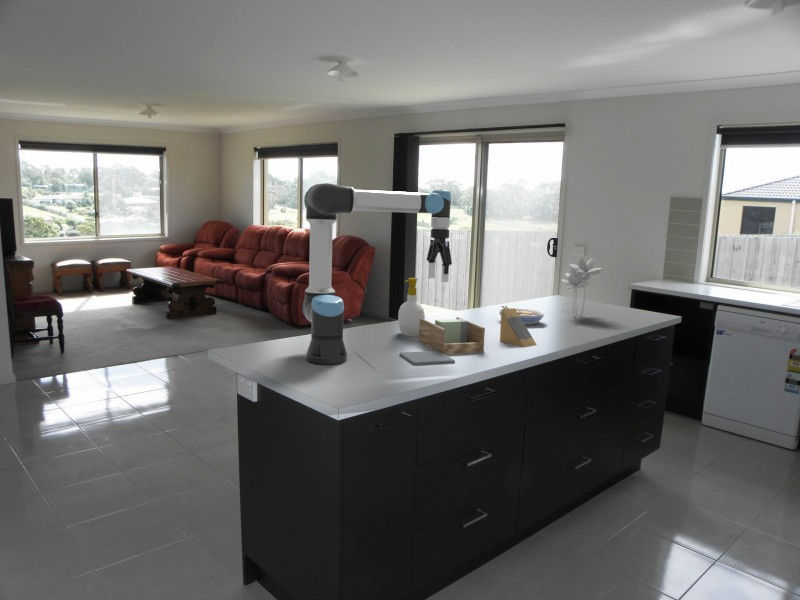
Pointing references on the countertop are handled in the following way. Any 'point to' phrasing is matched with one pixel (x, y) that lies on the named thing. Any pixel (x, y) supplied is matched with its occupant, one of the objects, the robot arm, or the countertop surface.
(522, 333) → the sandwich container
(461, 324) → the capped box
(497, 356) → the countertop surface
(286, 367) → the countertop surface
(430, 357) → the slate mat
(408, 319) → the soap bottle
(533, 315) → the ramen bowl
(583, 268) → the flower bouquet
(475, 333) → the wooden display shelf
